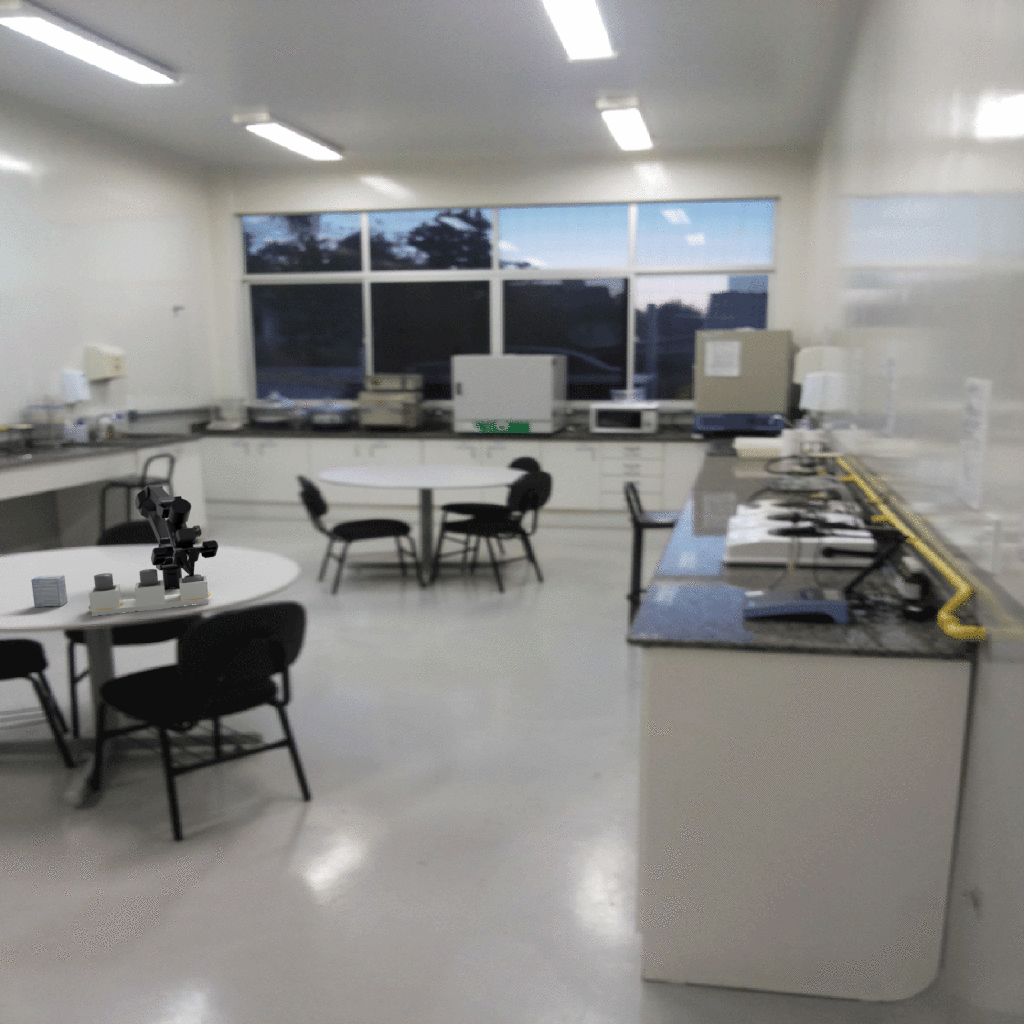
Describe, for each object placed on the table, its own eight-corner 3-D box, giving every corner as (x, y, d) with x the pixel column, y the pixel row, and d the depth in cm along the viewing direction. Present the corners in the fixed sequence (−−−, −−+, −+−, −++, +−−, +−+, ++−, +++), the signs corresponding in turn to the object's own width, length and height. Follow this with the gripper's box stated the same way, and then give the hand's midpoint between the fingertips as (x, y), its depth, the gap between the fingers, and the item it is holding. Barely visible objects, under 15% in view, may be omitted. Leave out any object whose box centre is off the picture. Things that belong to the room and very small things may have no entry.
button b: (140, 583, 260) (139, 570, 259) (158, 581, 261) (157, 568, 261) (140, 587, 255) (139, 573, 254) (158, 585, 257) (156, 571, 256)
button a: (185, 588, 264) (184, 575, 264) (202, 586, 266) (201, 573, 265) (185, 592, 260) (184, 578, 259) (202, 590, 261) (201, 577, 261)
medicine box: (68, 602, 265) (65, 574, 263) (61, 606, 261) (58, 578, 259) (41, 603, 265) (38, 575, 263) (34, 607, 260) (30, 579, 259)
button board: (90, 608, 258) (88, 586, 257) (210, 595, 270) (208, 574, 269) (87, 617, 249) (85, 594, 248) (211, 603, 260) (209, 581, 259)
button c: (96, 587, 255) (94, 574, 255) (114, 585, 257) (112, 572, 256) (94, 591, 251) (93, 577, 250) (113, 589, 253) (111, 576, 252)
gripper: (149, 521, 258) (163, 564, 251) (214, 513, 269) (228, 555, 262) (145, 543, 266) (158, 586, 259) (208, 535, 277) (222, 576, 270)
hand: (192, 575), depth 262 cm, fingers closed, pressing on button a
